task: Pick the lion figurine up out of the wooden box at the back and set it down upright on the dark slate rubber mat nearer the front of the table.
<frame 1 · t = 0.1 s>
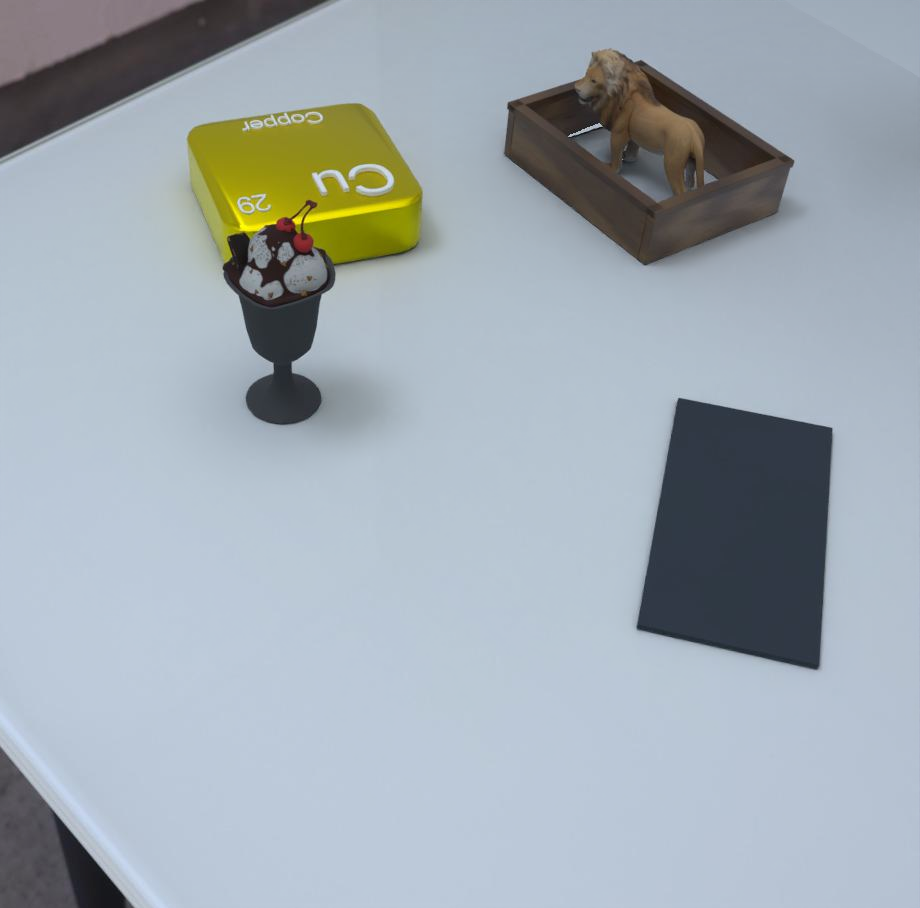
lion figurine: (637, 184, 105), resting in wooden box
sundae: (284, 400, 86), on the table
element tile: (303, 213, 101), on the table
wooden box: (637, 182, 104), on the table
mat: (740, 523, 79), on the table
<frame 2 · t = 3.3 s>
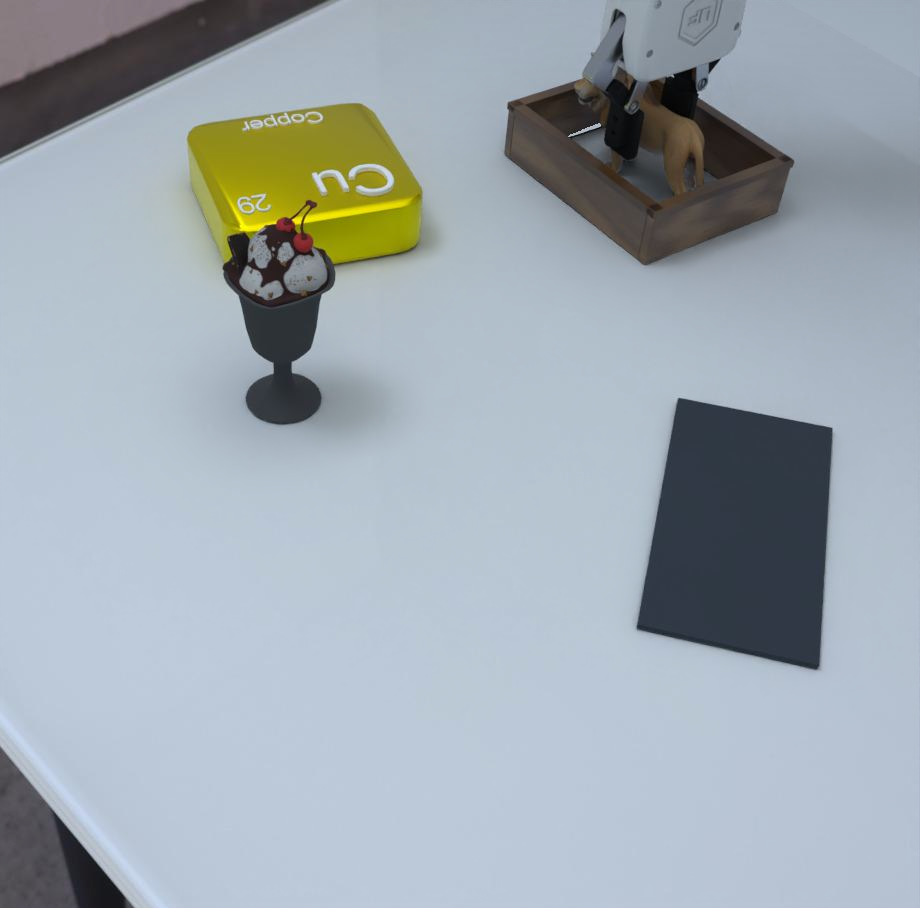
hand: (646, 140, 102), 4 cm above the table, tool pointing down, fingers closed on lion figurine, 4 cm apart
lion figurine: (637, 184, 105), resting in wooden box, touching gripper
everything else where it was.
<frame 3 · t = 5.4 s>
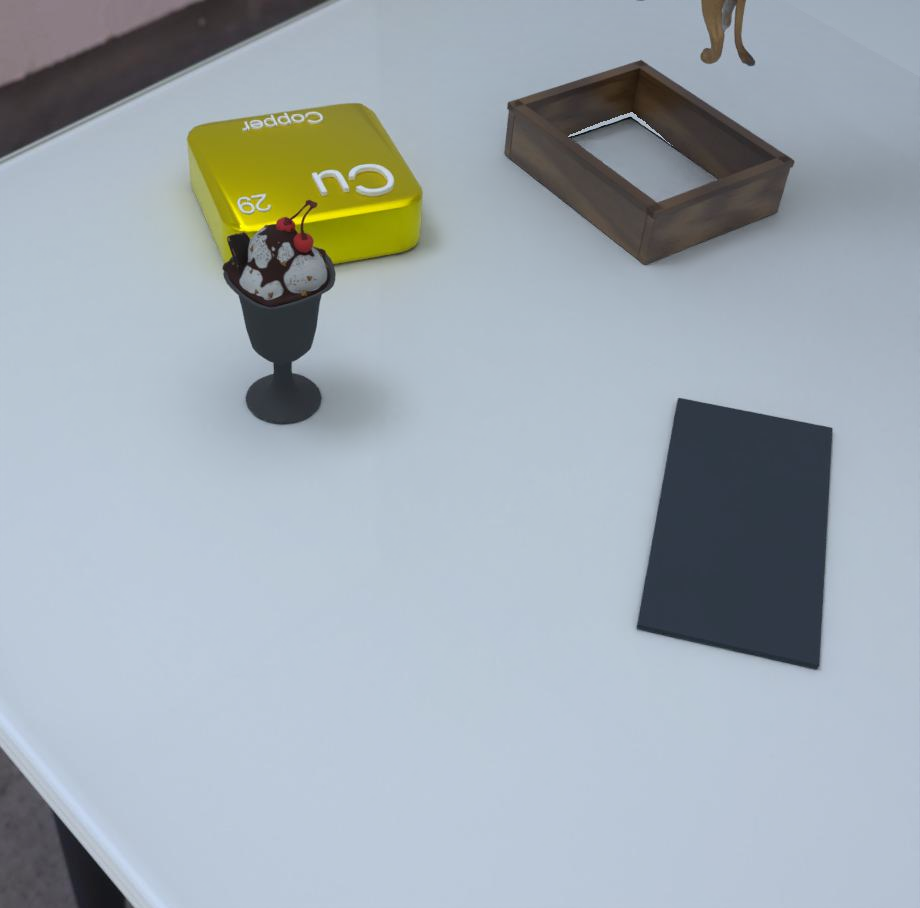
lion figurine: (666, 16, 94), point 14 cm above the table, touching gripper
everything else where it was.
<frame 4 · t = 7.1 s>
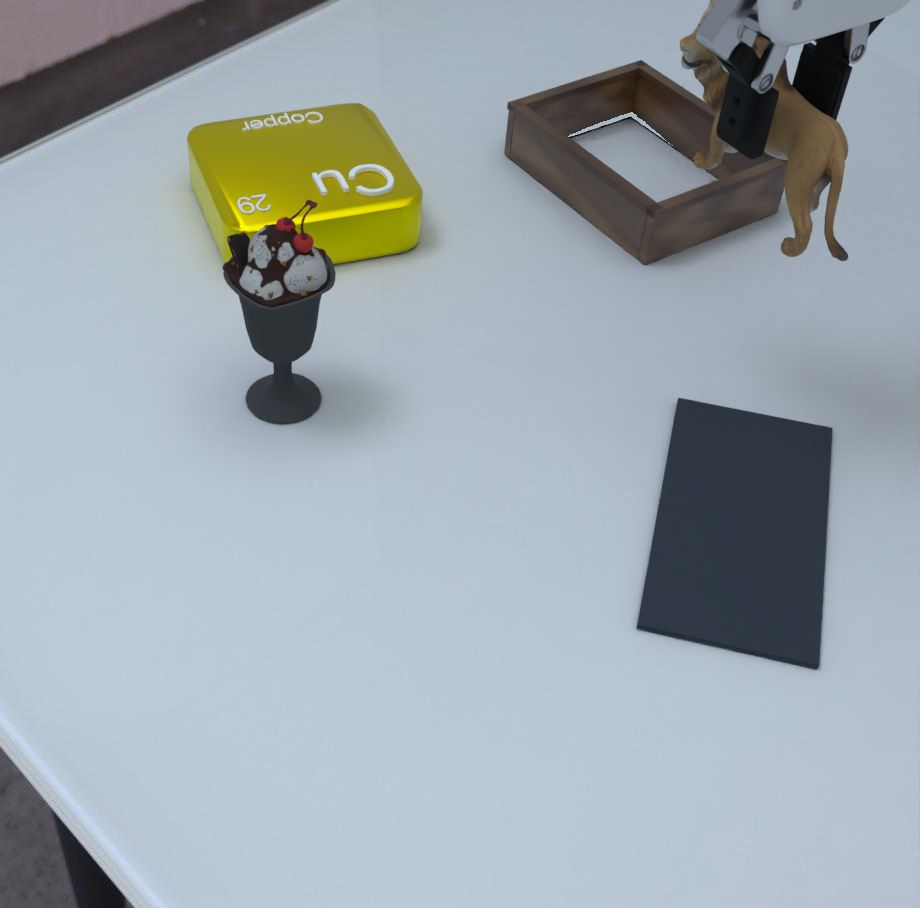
hand: (774, 131, 73), 19 cm above the table, tool pointing down, fingers closed on lion figurine, 4 cm apart
lion figurine: (737, 189, 77), point 15 cm above the table, touching gripper
everything else where it was.
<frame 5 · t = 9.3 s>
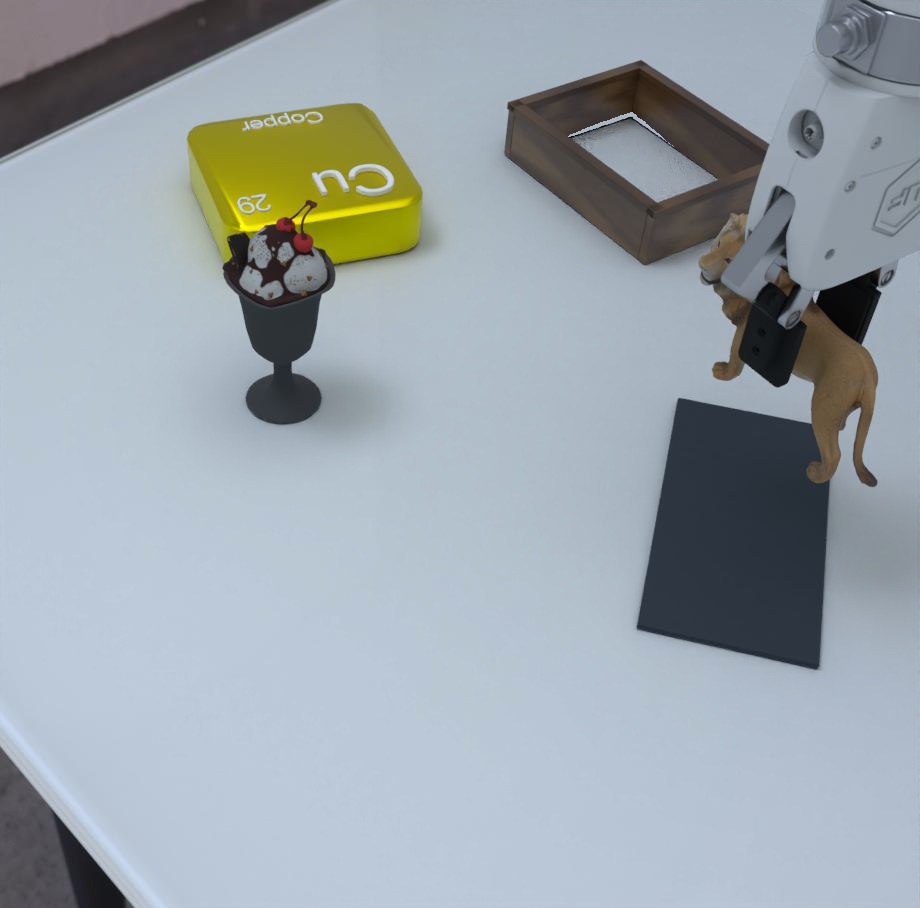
hand: (798, 352, 70), 13 cm above the table, tool pointing down, fingers closed on lion figurine, 4 cm apart
lion figurine: (758, 402, 73), point 9 cm above the table, touching gripper
everything else where it was.
when the fingers open (6 cm above the table, at t = 11.2 s): lion figurine drops 1 cm, resting on mat.
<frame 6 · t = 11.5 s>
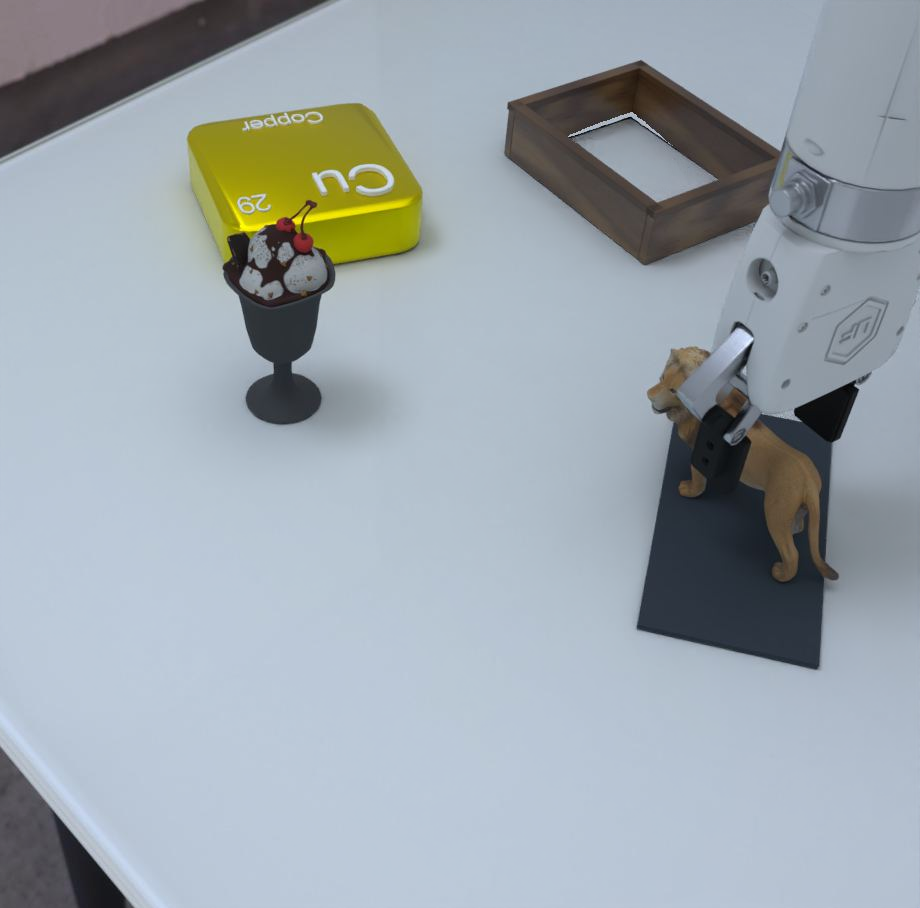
hand: (765, 450, 75), 6 cm above the table, tool pointing down, fingers open, 7 cm apart
lion figurine: (724, 513, 80), resting on mat
everything else where it was.
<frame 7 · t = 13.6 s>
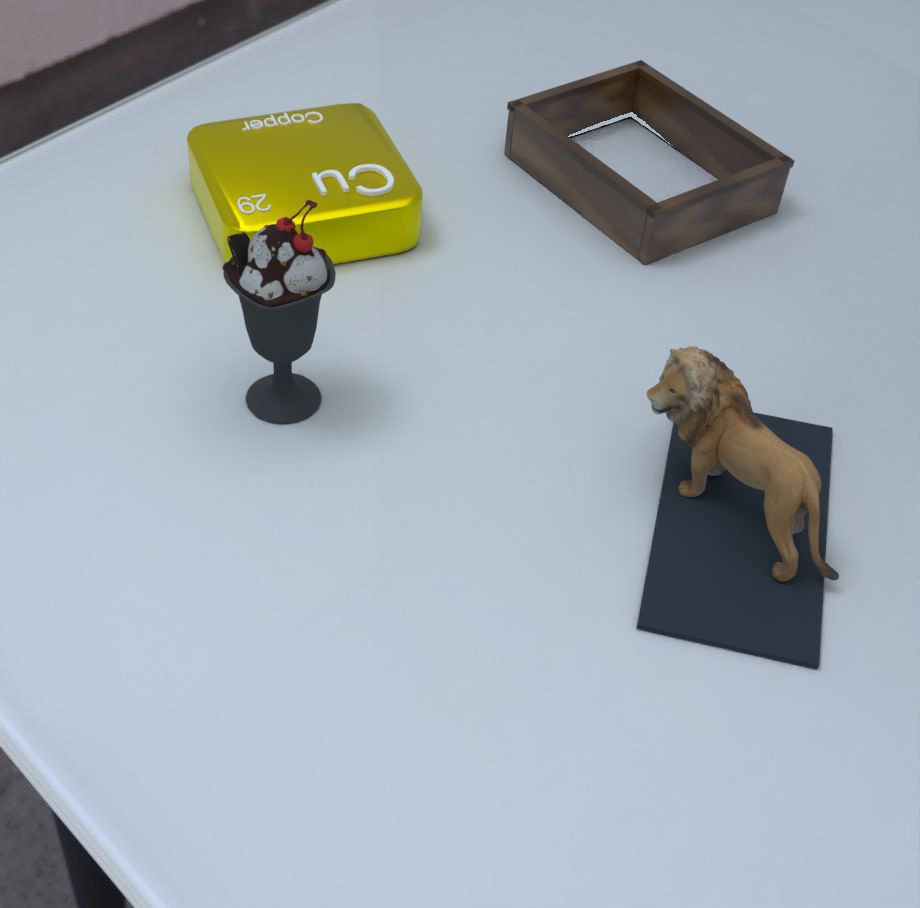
nothing on the table moved.
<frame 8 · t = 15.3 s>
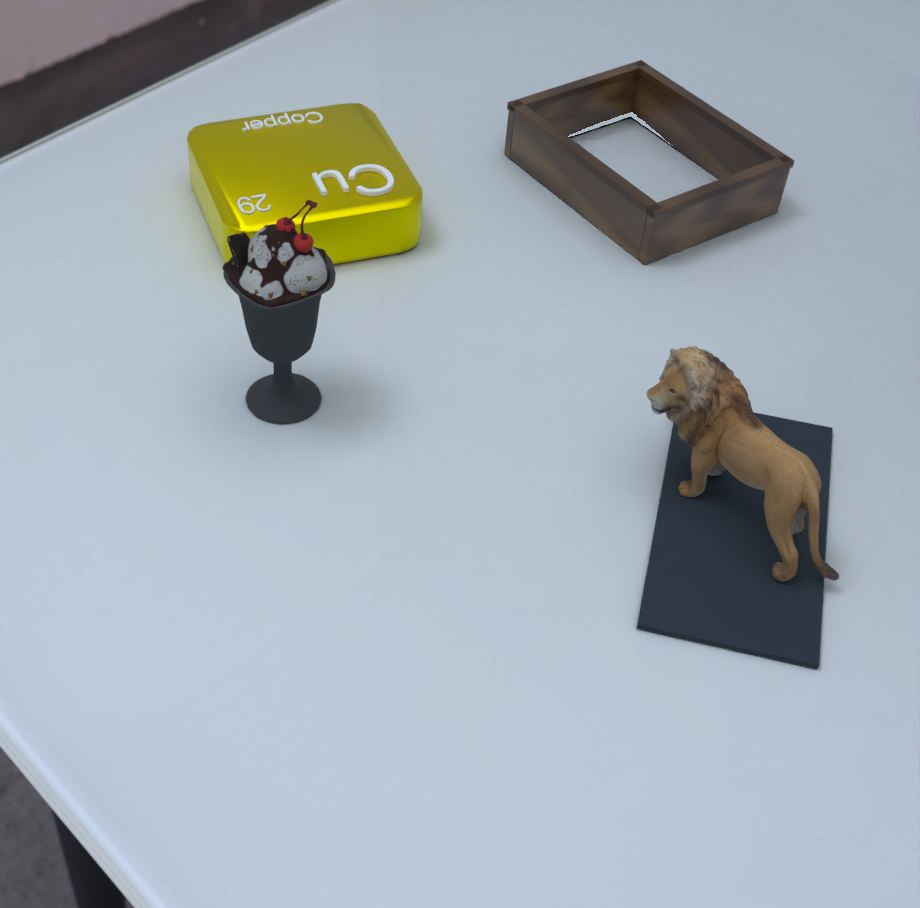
nothing on the table moved.
at the end: lion figurine inside the target area on the mat (1.1 cm from its centre), point 0.2 cm above the mat's base; lion figurine tilted 0°; the gripper is holding nothing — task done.
